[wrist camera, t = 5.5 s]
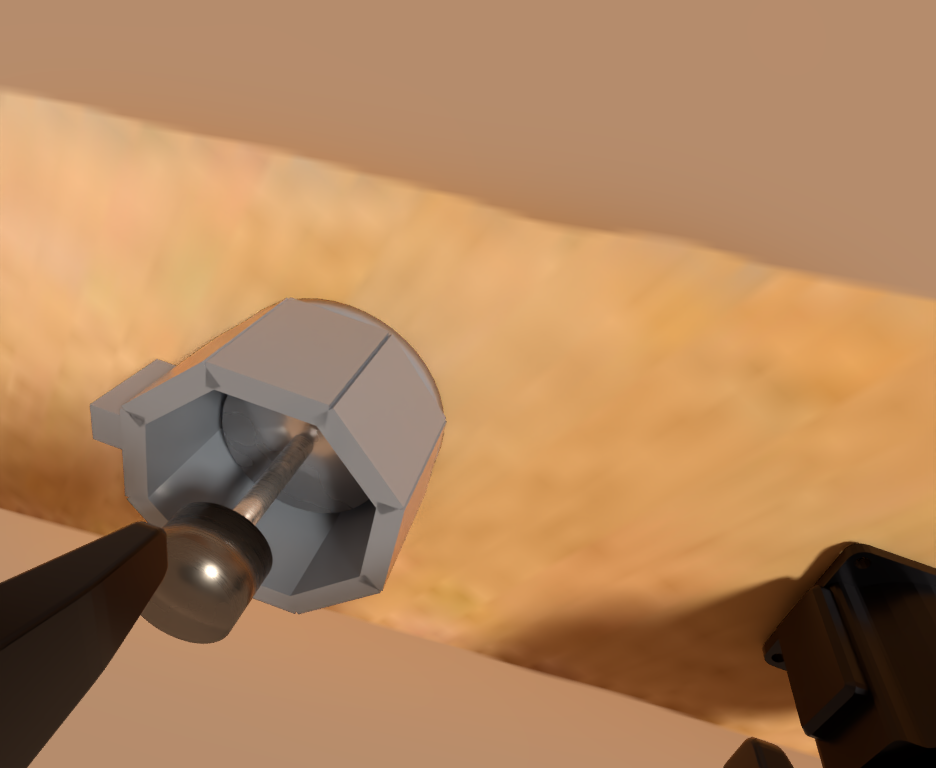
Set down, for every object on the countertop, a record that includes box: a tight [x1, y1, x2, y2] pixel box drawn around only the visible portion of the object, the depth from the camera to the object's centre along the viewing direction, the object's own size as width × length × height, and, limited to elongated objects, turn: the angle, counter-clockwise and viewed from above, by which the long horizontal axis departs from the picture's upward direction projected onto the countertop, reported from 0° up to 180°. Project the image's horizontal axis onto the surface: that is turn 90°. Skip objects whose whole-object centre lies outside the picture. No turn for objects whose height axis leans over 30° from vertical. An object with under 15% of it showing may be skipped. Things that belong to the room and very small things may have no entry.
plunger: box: [141, 395, 369, 644], centre depth 18 cm, size 6×6×8 cm
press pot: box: [90, 298, 447, 614], centre depth 21 cm, size 10×9×6 cm
